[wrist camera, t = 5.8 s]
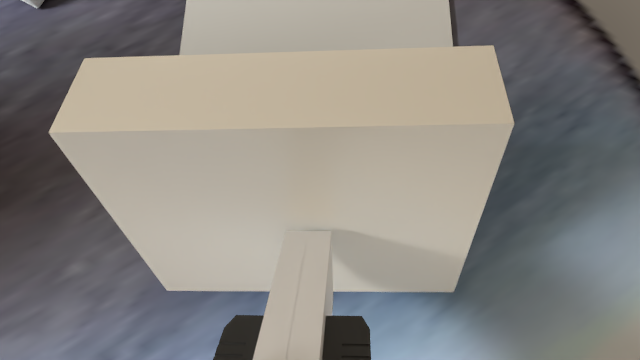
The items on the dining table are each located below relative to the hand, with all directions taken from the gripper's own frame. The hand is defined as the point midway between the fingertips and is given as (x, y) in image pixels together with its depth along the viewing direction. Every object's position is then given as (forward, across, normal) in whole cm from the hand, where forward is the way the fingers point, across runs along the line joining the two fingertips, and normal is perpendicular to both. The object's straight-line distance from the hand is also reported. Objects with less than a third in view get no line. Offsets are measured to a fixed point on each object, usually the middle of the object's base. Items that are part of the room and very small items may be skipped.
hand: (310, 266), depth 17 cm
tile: (+4, 0, -2) cm, 5 cm away
